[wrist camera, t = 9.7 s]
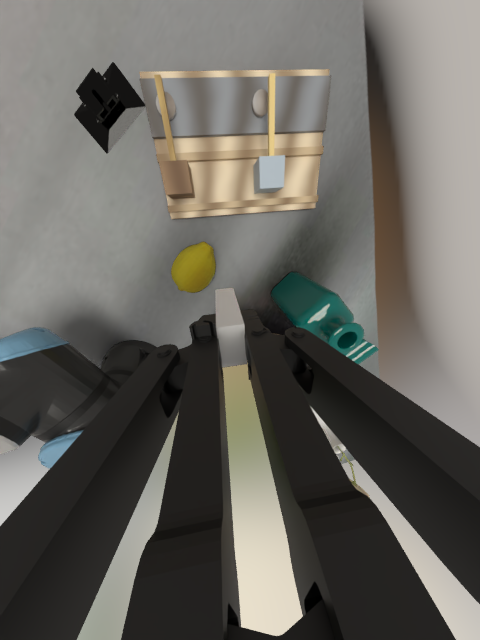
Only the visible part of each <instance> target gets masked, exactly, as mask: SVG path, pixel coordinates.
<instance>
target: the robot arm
mask: <svg viewBox="0 0 480 640" xmlns="http://www.w3.org/2000/svg"><path fill="white" fill-rule="evenodd" d="M215 301H216V314H212V315H203V316H202V317H201V318H200V319H199V320H198V321H196V322H194V323H192V324H191V325H190V327H189V328H190V332H191V336H192V344H191V345H189V346H188V347H185V348H182V349H179V350H178V348H177V346H175V345H171V344H169V345H163V346H160V347H158V348H156V347H155V346H153V345H151V344H149V343H146V342H142V341H124V342H121V343H118V344H116V345H115V346H113V347H112V348H111V349H110V350H109V351H108V353H107V354H106V355H105V357H104V359H103V362H102V365H101V369H100V368H98V367H97V366H96V365H94V364H93V363H92V362H91V361H89V360H88V359H87V358H86V357H84V356H83V355H82V354H81V353H80V352H78V351H77V350H76V349H75V348H74V347H72V346H71V345H70V343H69V342H68V341H64V340H63V339H62V338H60V337H59V336H57V335H56V334H54V333H53V332H52V331H50V330H48V329H46V328H40V327H35V328H29V329H26V330H23V331H20V332H18V333H15V334H12V335H10V336H7V337H5V338H2V339H0V454H3V453H6V452H9V451H13V450H16V449H17V448H18V447H19V446H20V445H22V444H23V443H24V442H25V441H26V440H27V439H28V438H29V437H30V436H31V435H32V436H34V437H36V438H38V439H40V440H42V441H44V442H46V443H45V444H44V445H43V446H42V447H41V450H40V453H39V457H38V458H39V461H41V464H42V465H44V466H45V467H47V468H50V470H49V471H48V472H47V473H46V474H45V475H44V477H43V478H42V479H41V480H40V481H39V482H38V484H37V485H36V486H35V487H34V488H33V489H32V491H31V492H30V493H29V494H28V495H27V496H26V497H25V499H24V500H23V501H22V502H21V503H20V504H19V505H18V507H17V508H16V509H15V510H14V511H13V512H12V513H11V515H10V516H9V517H8V518H7V519H6V520H5V522H4V523H3V524H2V525H1V526H0V640H77V637H78V635H79V633H80V631H81V628H82V626H83V624H84V622H85V620H86V617H87V615H88V613H89V611H90V608H91V606H92V604H93V602H94V600H95V597H96V595H97V593H98V591H99V588H100V586H101V584H102V582H103V579H104V577H105V575H106V573H107V570H108V568H109V566H110V564H111V561H112V559H113V557H114V555H115V552H116V550H117V548H118V546H119V543H120V541H121V539H122V537H123V535H124V532H125V530H126V528H127V526H128V523H129V521H130V519H131V517H132V515H133V512H134V510H135V508H136V506H137V503H138V501H139V499H140V497H141V494H142V492H143V490H144V488H145V485H146V483H147V481H148V479H149V477H150V474H151V472H152V470H153V468H154V465H155V463H156V461H157V459H158V456H159V454H160V452H161V450H162V448H163V445H164V443H165V441H166V438H167V436H168V434H169V432H170V430H171V427H172V425H173V423H174V420H175V418H176V416H177V414H178V412H179V415H178V420H177V425H176V431H175V436H174V441H173V446H172V452H171V457H170V463H169V468H168V473H167V478H166V483H165V489H164V494H163V499H162V505H161V510H160V515H159V520H158V524H157V527H156V529H155V532H154V534H153V535H152V537H151V538H150V539H149V540H148V542H147V543H146V545H145V549H144V550H143V553H142V555H141V558H140V562H139V565H138V569H137V573H136V577H135V580H134V585H133V589H132V594H131V598H130V603H129V607H128V611H127V616H126V620H125V624H124V629H123V634H122V638H121V640H456V639H455V638H454V636H453V634H452V632H451V631H450V629H449V627H448V625H447V624H446V622H445V620H444V619H443V617H442V616H441V614H440V612H439V610H438V608H437V607H436V605H435V603H434V602H433V600H432V598H431V596H430V595H429V593H428V591H427V590H426V588H425V586H424V584H423V583H422V581H421V579H420V578H419V576H418V574H417V573H416V571H415V569H414V567H413V566H412V564H411V562H410V561H409V559H408V557H407V555H406V554H405V552H404V550H403V549H402V547H401V545H400V543H399V542H398V540H397V538H396V537H395V535H394V533H393V532H392V530H391V528H390V526H389V525H388V523H387V521H386V520H385V518H384V517H383V515H382V514H381V512H380V511H379V509H378V508H377V506H376V505H375V504H374V503H373V502H372V501H371V499H370V498H369V497H368V496H367V495H365V494H363V493H362V492H360V491H358V490H357V489H356V488H355V487H354V486H353V484H352V483H351V481H350V480H349V478H348V476H347V475H346V472H345V471H344V469H343V467H342V465H341V463H340V461H339V459H338V457H337V456H336V454H335V452H334V450H333V448H332V446H331V444H330V443H329V441H328V439H327V437H326V435H325V433H324V431H323V429H322V428H321V426H320V424H319V422H318V420H317V418H316V416H315V414H314V413H313V411H312V409H311V407H312V408H313V410H314V411H315V412H316V413H317V414H318V415H319V417H320V418H321V419H322V420H323V421H324V423H325V424H326V425H327V426H328V427H329V429H330V430H331V431H332V432H333V433H334V434H335V436H336V437H337V438H338V439H339V440H340V442H341V443H342V444H343V445H344V446H345V448H346V449H347V450H348V451H349V452H350V453H351V455H352V456H353V457H354V458H355V459H356V461H358V463H359V464H360V465H361V466H362V468H363V469H364V470H365V471H366V472H367V474H368V475H369V476H370V477H371V478H372V480H373V481H374V482H375V483H376V484H377V485H378V487H379V488H380V489H381V490H382V491H383V493H384V494H385V495H386V496H387V497H388V499H389V500H390V501H391V502H392V503H393V504H394V506H395V507H396V508H397V509H398V510H399V512H400V513H401V514H402V515H403V516H404V517H405V519H406V520H407V521H408V522H409V523H410V525H411V526H412V527H413V528H414V529H415V531H417V533H418V534H419V535H420V536H421V537H422V539H423V540H424V541H425V542H426V544H427V545H428V546H429V547H430V548H431V550H432V551H433V552H434V553H435V554H436V555H437V557H438V558H439V559H440V560H441V561H442V563H443V564H444V565H445V566H446V567H447V568H448V569H449V571H450V572H451V573H452V574H453V575H454V576H455V577H456V578H457V579H458V581H459V582H460V583H461V584H462V585H463V586H464V587H465V589H466V590H467V591H468V592H469V593H470V594H471V595H472V596H473V597H474V599H475V600H476V601H477V602H478V603H479V604H480V447H478V446H477V445H475V444H474V443H472V442H471V441H469V440H468V439H467V438H465V437H464V436H462V435H461V434H459V433H458V432H456V431H455V430H454V429H452V428H451V427H449V426H448V425H446V424H445V423H443V422H442V421H440V420H439V419H437V418H436V417H434V416H433V415H432V414H430V413H429V412H427V411H426V410H424V409H423V408H421V407H420V406H418V405H417V404H415V403H414V402H412V401H411V400H409V399H408V398H407V397H405V396H404V395H402V394H401V393H399V392H398V391H396V390H395V389H393V388H392V387H390V386H389V385H387V384H386V383H385V382H383V381H382V380H380V379H379V378H377V377H376V376H374V375H373V374H371V373H370V372H368V371H367V370H365V369H364V368H363V367H361V366H360V365H358V364H357V363H355V362H354V361H352V360H351V359H349V358H348V357H346V356H345V355H343V354H342V353H341V352H339V351H338V350H336V349H335V348H333V347H332V346H330V345H329V344H327V343H326V342H324V341H323V340H321V339H320V338H319V337H317V336H316V335H314V334H313V333H311V332H310V331H308V330H306V329H304V328H300V327H294V328H289V329H287V330H286V331H285V335H276V334H272V333H271V332H270V330H269V329H268V328H266V327H264V326H263V324H262V322H261V320H260V319H259V316H258V314H257V312H256V311H254V310H252V309H249V310H241V311H240V309H239V305H238V302H237V299H236V296H235V293H234V290H233V288H225V289H216V290H215ZM247 362H248V374H249V380H251V384H252V388H253V393H254V397H255V401H256V405H257V410H258V414H259V418H260V423H261V427H262V431H263V435H264V439H265V444H266V448H267V452H268V457H269V461H270V465H271V469H272V474H273V478H274V482H275V486H276V491H277V495H278V499H279V504H280V508H281V512H282V516H283V521H284V525H285V529H286V534H287V538H288V543H289V550H290V557H291V563H292V569H293V573H294V578H295V583H296V587H297V592H298V596H299V601H300V605H301V609H302V614H303V617H302V618H301V619H300V620H299V621H298V622H297V623H295V625H293V626H292V627H291V628H290V629H289V630H288V631H287V632H285V633H284V634H283V635H280V636H272V635H269V634H265V633H261V632H257V631H253V630H249V629H246V628H242V627H241V620H240V605H239V591H238V580H237V569H236V560H235V550H234V537H233V536H234V535H233V520H232V505H231V490H230V473H229V458H228V442H227V427H226V412H225V396H224V381H223V370H222V368H223V367H230V366H237V365H243V364H247ZM308 365H309V366H310V367H309V366H308ZM310 406H311V407H310Z"/></svg>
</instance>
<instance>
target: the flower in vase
mask: <svg viewBox="0 0 480 640" xmlns="http://www.w3.org/2000/svg"><path fill="white" fill-rule="evenodd" d="M310 407H311V406H310ZM311 409H312V411H313V413H314V414H315V416H316V418H317V420H318V422H319V424H320V426H321V428H323V429H324V430H325V432H326V434H327V435H328V438H329V440H330V443H331V446H332V448H333V450H334V452H335V454H338V453H342V454H343V456H342V458H343V457H344V456H345V453H343V451H344V450H345V449H346V448H345V446H344V445H343V444H342V443H341V442H340V440H339V439H338V438H337V437H336V436H335V434H334V433H333V432H332V431H331V430H330V429H329V427H328V426H327V425H326V424H325V423H324V421H323V420H322V419H321V418H320V417H319V415H318V414H317V413H316V412H315V411H314V410H313V408H312V407H311ZM342 458H341V459H340V461H342ZM345 458H346V460H347V461H348V462H349V464H350V466H351V469H352V473H353V478H354V481H352V480H350V479H349V480H350V481H351V483H352V484H353V486H354V487H355V488H356V489H357V490H358V491H360V492H362V493H363V494H365V495H367V496H368V497H369V495H368V494H367V493H366V492H365V491H364V490H363V489H362V488H361V487H360V486H358V485H357V484H356V481H355V476H354V472H353V468H352V466H353V464H352V463H351V462H350V461H349V460H348V459H347V457H346V456H345ZM369 498H370V497H369Z"/></svg>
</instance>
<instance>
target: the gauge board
mask: <svg viewBox="0 0 480 640" xmlns="http://www.w3.org/2000/svg"><path fill="white" fill-rule="evenodd" d="M139 73H140V77H141V78H140V83H141V87H142V92H143V96H144V101H145V105H146V110H147V115H148V119H149V124H150V128H151V133H152V137H153V139H154V142H155V146H156V151H157V154H156V156H157V160H158V163H159V165H160V169H161V174H162V179H163V183H164V188H165V192H166V197H167V202H168V211H169V213H170V216H171V219H181V218H194V217H207V216H221V215H234V214H247V213H261V212H274V211H287V210H300V209H313V208H315V203H316V202H318V195H316V193H317V184H318V174H319V165H320V155H322V154H323V148H324V146H322V136H323V132H324V131H325V129H326V120H327V111H328V102H329V93H330V83H331V75H329V69H325V70H248V71H171V72H139ZM269 73H275V140H274V156H279V155H285V171H284V187H283V188H282V189H280V190H278V191H277V192H273V193H258V194H254V170H253V166H254V164H255V163H256V161H257V159H258V158H259V156H268V76H269Z"/></svg>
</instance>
